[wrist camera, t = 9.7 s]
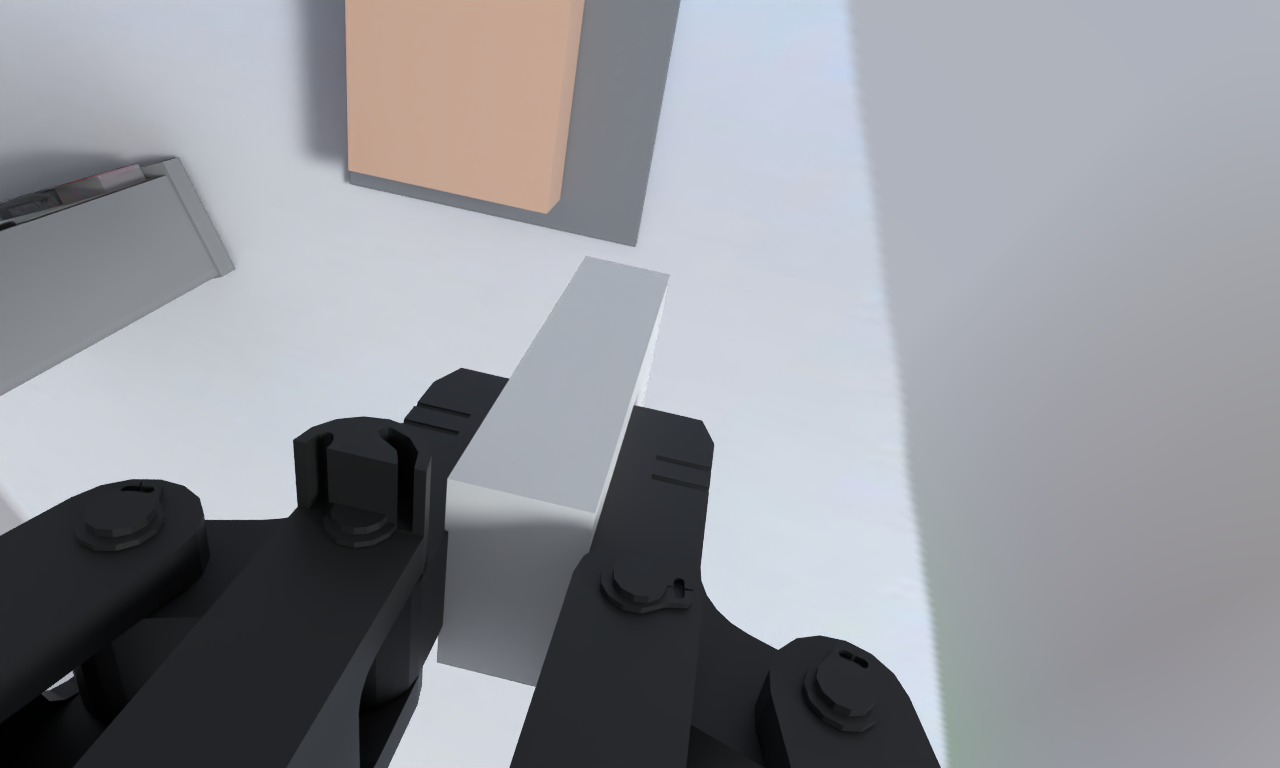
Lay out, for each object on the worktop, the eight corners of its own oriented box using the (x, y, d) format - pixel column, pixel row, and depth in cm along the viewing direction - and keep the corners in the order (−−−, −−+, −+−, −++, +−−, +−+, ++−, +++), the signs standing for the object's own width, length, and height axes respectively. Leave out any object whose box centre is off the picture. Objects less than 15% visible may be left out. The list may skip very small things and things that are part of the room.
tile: (560, 198, 35) (374, 158, 35) (587, -19, 30) (373, -62, 31) (546, 213, 33) (348, 170, 33) (573, -17, 28) (343, -65, 29)
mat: (354, 182, 36) (350, 184, 36) (349, -111, 31) (344, -111, 30) (636, 244, 36) (635, 246, 36) (687, -42, 30) (686, -42, 30)
